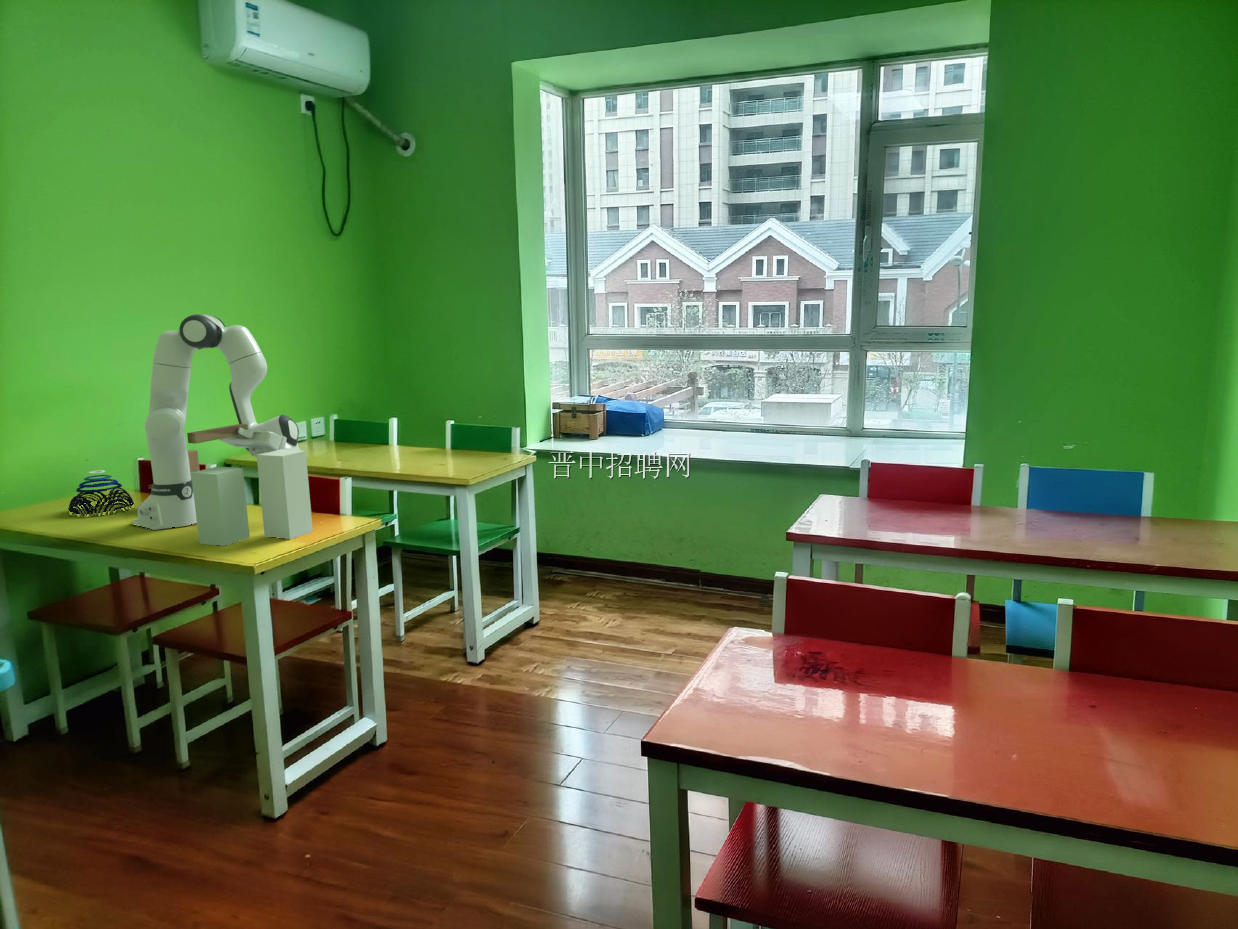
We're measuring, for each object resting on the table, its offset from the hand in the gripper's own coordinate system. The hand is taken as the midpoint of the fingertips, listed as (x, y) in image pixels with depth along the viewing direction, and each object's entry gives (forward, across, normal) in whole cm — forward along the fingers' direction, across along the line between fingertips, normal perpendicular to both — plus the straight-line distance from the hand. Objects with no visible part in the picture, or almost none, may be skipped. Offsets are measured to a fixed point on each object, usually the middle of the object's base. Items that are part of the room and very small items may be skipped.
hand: (232, 429), depth 259 cm
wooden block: (-38, -53, +17) cm, 67 cm away
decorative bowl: (-26, -76, +24) cm, 84 cm away
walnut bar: (+4, 0, +4) cm, 6 cm away
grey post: (-21, +14, +27) cm, 37 cm away
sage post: (-10, 0, +33) cm, 34 cm away
